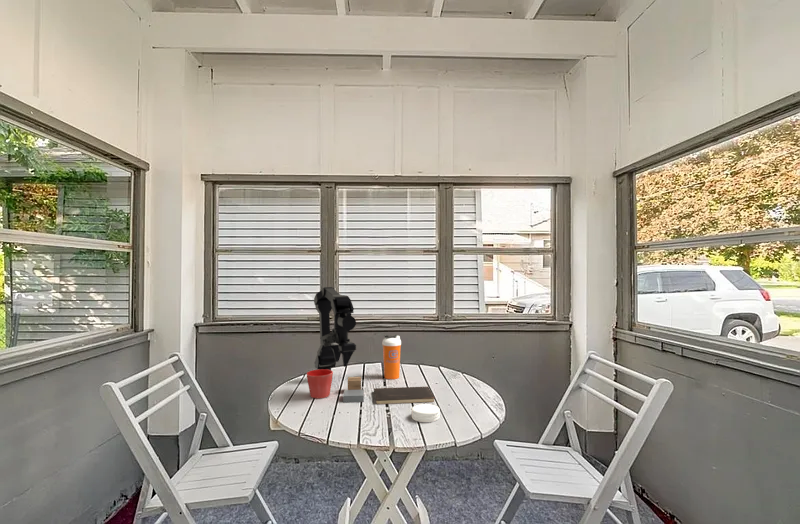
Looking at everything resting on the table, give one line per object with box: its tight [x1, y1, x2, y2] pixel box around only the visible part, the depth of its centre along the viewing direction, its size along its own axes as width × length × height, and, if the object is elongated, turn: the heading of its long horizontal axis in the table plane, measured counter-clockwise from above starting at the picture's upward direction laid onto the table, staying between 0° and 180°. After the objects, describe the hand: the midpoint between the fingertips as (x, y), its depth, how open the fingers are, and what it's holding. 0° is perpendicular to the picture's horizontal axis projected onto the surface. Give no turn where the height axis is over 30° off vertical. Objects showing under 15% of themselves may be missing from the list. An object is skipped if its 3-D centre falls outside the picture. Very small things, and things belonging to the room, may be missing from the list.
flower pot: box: [306, 369, 334, 400], centre depth 184 cm, size 11×11×10 cm
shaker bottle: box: [381, 333, 402, 380], centre depth 212 cm, size 9×9×20 cm
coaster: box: [411, 403, 441, 423], centre depth 159 cm, size 10×10×4 cm
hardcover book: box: [373, 386, 436, 405], centre depth 182 cm, size 16×23×2 cm
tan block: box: [347, 376, 362, 390], centre depth 190 cm, size 6×6×6 cm
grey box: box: [342, 389, 365, 403], centre depth 180 cm, size 8×8×2 cm
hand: (341, 364), depth 186 cm, fingers open, 9 cm apart
